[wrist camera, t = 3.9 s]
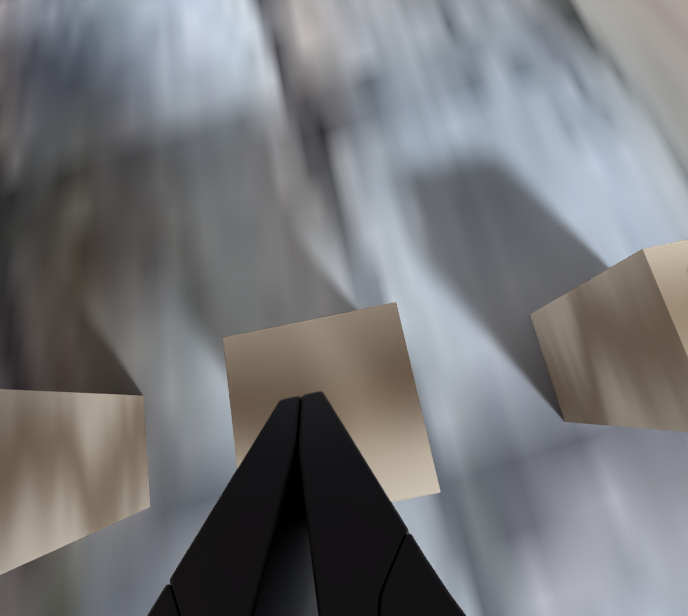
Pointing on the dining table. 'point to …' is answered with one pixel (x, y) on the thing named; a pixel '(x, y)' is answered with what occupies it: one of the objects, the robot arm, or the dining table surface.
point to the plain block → (338, 389)
